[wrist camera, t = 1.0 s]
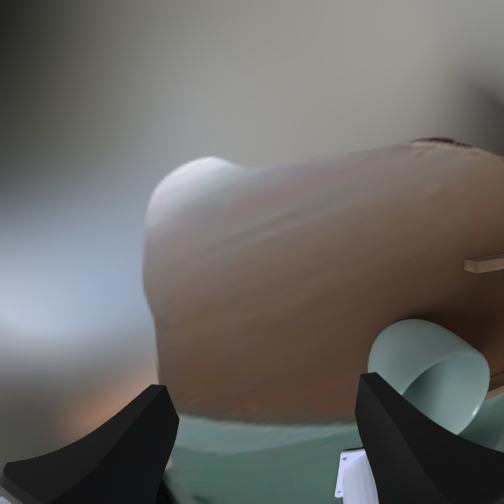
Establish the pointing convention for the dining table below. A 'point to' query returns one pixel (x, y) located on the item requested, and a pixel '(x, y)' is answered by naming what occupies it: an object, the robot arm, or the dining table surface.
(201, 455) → the dining table surface
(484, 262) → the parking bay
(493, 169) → the dining table surface
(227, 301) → the dining table surface
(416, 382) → the cup
